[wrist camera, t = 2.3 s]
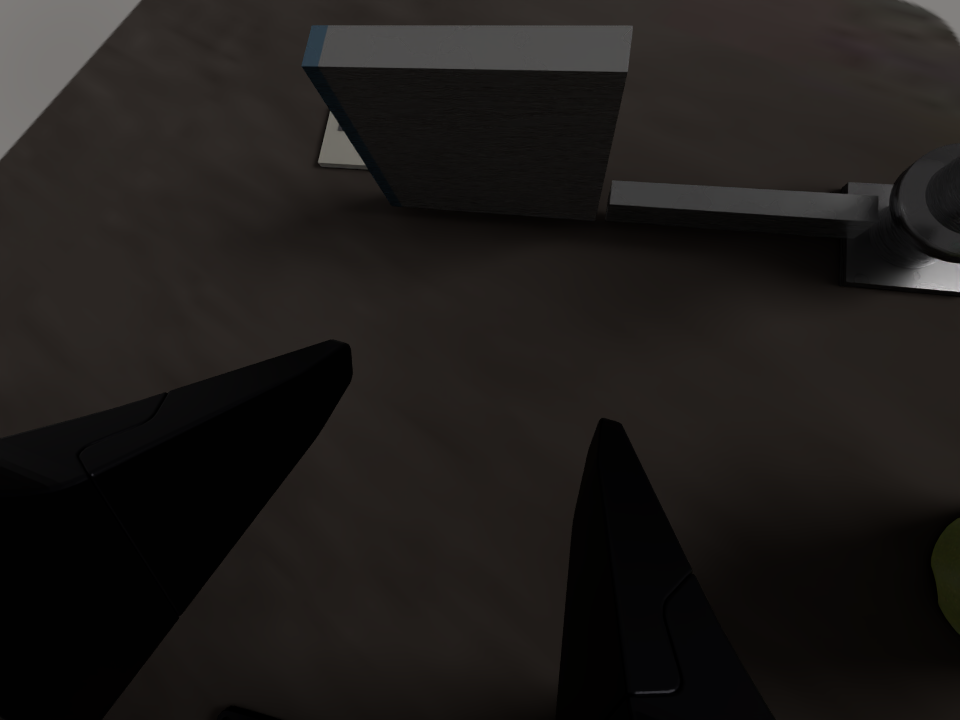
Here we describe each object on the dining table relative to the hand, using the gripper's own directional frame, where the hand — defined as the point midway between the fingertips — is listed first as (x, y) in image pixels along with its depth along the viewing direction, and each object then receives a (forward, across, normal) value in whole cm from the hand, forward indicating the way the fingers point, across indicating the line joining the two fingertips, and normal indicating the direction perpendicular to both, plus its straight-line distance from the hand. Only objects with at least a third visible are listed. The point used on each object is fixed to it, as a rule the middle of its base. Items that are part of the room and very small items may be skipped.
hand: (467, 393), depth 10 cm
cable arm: (+16, -2, 0) cm, 16 cm away
